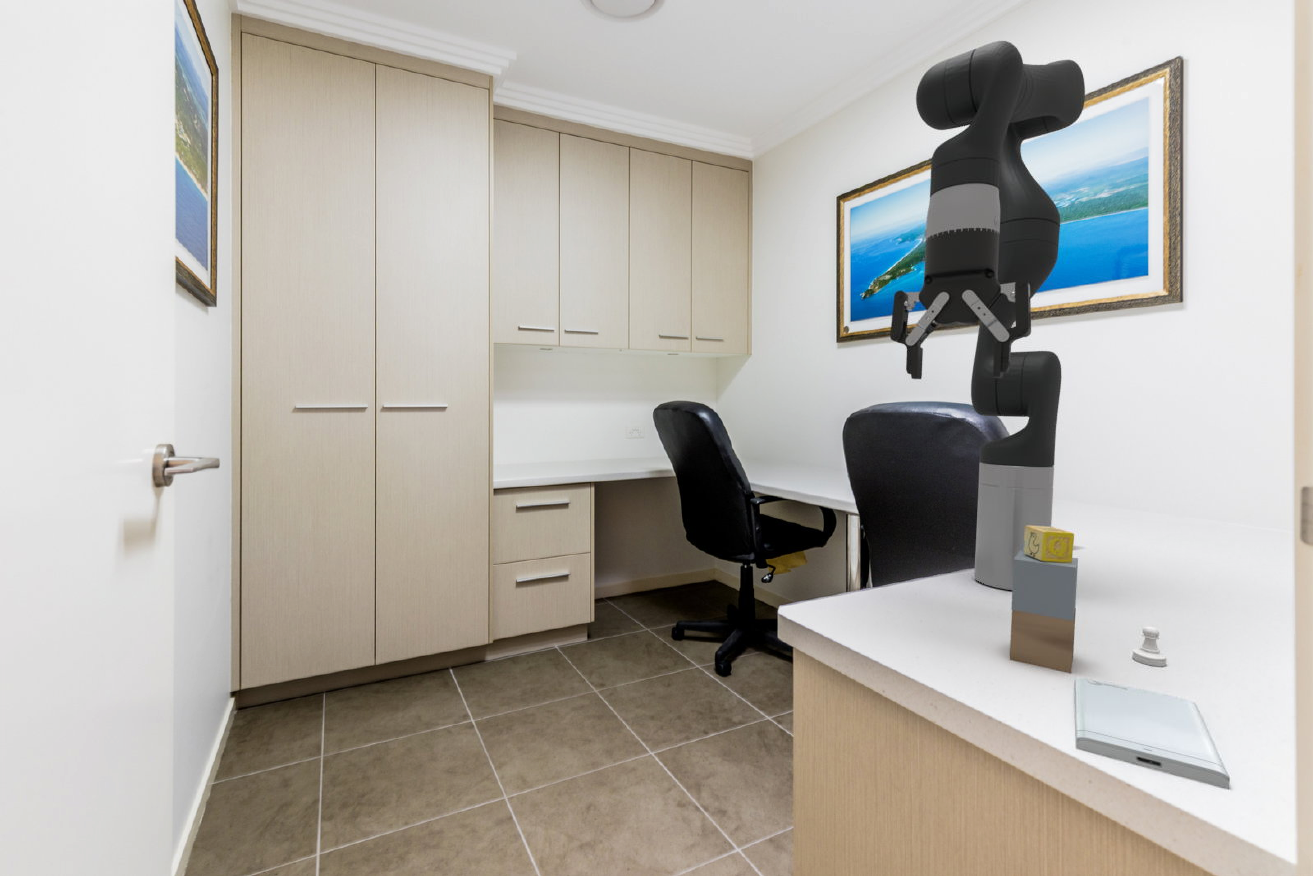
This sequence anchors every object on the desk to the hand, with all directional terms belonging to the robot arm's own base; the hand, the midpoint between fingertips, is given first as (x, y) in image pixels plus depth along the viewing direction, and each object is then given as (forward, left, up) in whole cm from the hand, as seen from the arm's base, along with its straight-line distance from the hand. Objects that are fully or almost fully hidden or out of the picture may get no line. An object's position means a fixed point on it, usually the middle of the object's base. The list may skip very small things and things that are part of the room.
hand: (955, 378), depth 70 cm
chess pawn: (0, +19, -28) cm, 34 cm away
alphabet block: (+6, +10, -18) cm, 22 cm away
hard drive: (+18, +17, -29) cm, 38 cm away
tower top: (+6, +10, -23) cm, 26 cm away
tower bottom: (+6, +10, -28) cm, 30 cm away
